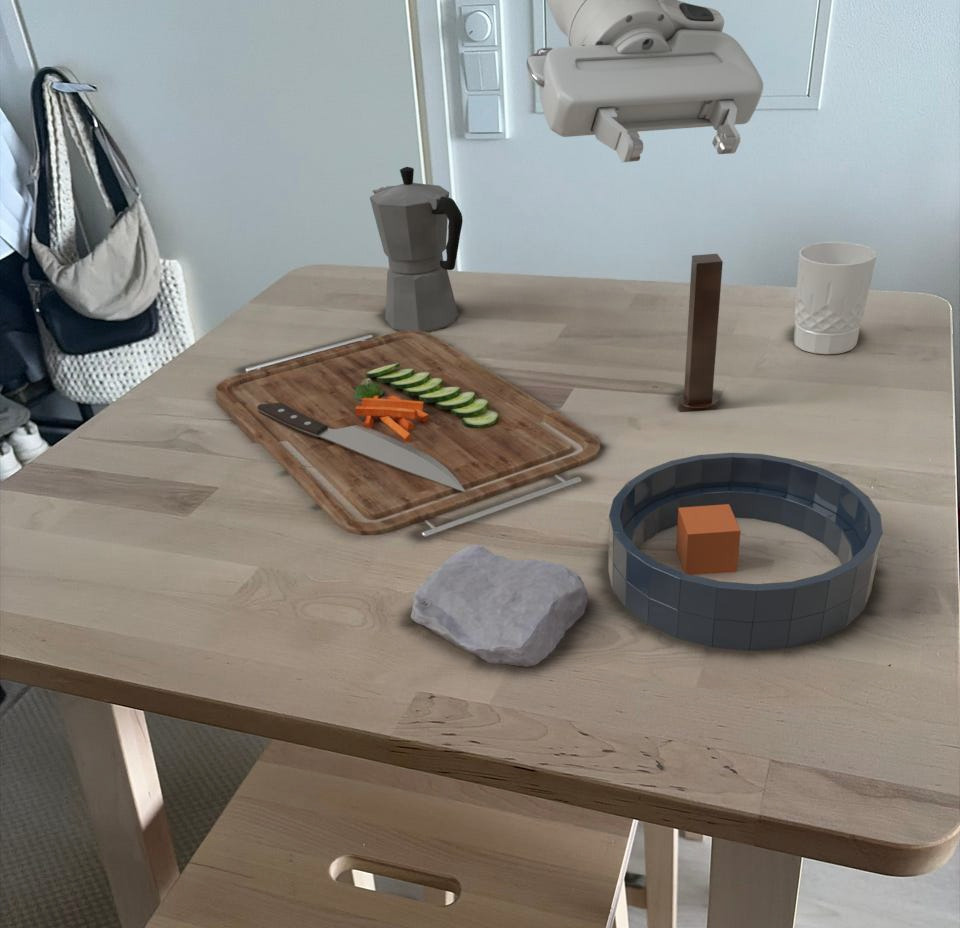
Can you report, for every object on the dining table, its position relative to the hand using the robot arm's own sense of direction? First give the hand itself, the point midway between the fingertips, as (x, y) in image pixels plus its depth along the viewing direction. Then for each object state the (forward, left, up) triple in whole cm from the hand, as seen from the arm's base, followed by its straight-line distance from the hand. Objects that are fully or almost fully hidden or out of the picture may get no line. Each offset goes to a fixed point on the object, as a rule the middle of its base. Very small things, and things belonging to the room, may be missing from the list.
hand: (683, 151), depth 89 cm
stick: (-3, -2, -25) cm, 25 cm away
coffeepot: (+25, -32, -25) cm, 47 cm away
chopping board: (+28, -3, -25) cm, 38 cm away
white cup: (-20, -16, -25) cm, 36 cm away
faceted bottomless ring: (0, +29, -25) cm, 38 cm away
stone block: (+19, +33, -25) cm, 46 cm away
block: (+2, +27, -24) cm, 37 cm away
